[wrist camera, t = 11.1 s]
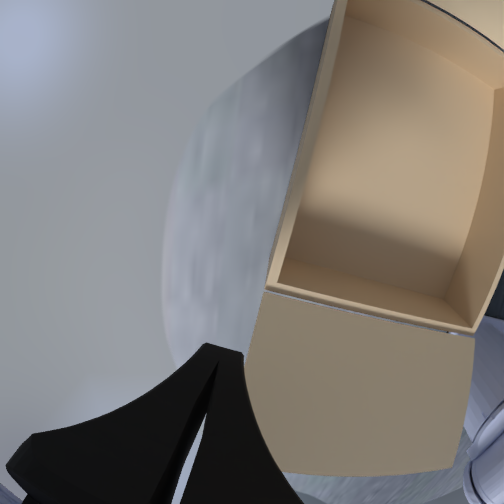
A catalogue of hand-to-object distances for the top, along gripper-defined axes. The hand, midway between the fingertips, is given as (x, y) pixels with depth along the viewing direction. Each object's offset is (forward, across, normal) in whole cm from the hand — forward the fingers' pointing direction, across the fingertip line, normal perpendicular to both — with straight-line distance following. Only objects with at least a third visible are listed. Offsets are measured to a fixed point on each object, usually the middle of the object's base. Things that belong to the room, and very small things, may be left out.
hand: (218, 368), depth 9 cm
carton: (+10, -8, -10) cm, 16 cm away
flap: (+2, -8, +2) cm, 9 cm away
